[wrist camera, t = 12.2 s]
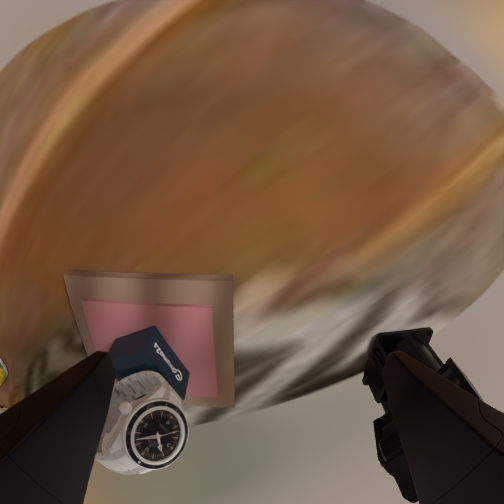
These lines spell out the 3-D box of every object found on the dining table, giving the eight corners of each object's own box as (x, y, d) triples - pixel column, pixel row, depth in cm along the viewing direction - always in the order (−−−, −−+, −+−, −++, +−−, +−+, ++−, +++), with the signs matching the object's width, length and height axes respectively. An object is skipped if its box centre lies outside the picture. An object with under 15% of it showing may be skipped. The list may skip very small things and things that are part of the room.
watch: (209, 367, 23) (196, 484, 13) (136, 386, 24) (104, 482, 14) (175, 316, 21) (136, 438, 11) (100, 342, 22) (48, 439, 12)
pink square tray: (232, 275, 21) (232, 283, 20) (234, 400, 26) (234, 410, 25) (68, 270, 21) (60, 277, 20) (106, 387, 26) (102, 396, 25)
